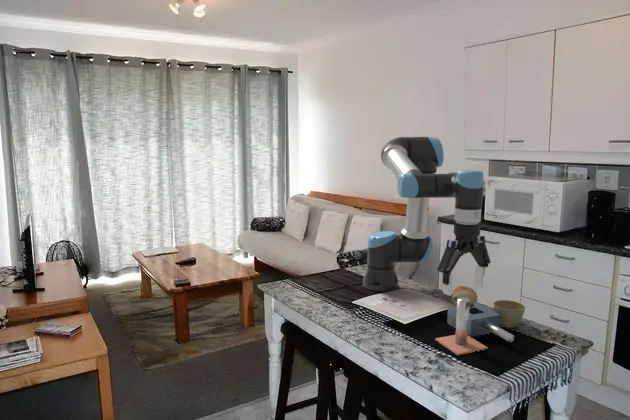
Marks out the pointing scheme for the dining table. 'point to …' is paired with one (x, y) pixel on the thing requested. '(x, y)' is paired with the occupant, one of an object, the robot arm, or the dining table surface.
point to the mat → (460, 349)
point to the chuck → (481, 322)
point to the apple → (465, 294)
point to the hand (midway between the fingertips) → (463, 290)
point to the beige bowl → (509, 312)
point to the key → (462, 319)
